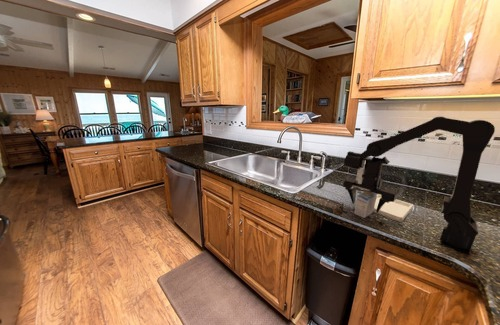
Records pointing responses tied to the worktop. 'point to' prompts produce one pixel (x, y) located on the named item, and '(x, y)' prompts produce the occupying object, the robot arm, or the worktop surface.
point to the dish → (393, 209)
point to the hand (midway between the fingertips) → (364, 207)
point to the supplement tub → (360, 175)
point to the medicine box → (365, 204)
